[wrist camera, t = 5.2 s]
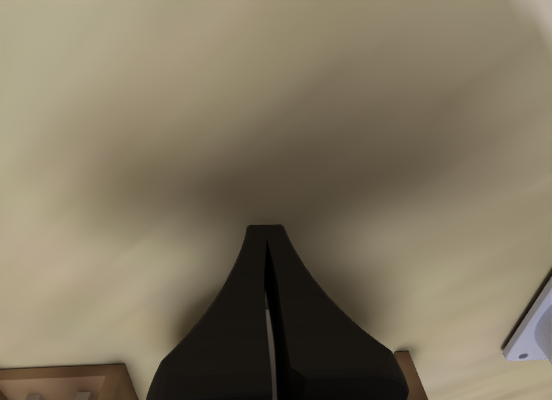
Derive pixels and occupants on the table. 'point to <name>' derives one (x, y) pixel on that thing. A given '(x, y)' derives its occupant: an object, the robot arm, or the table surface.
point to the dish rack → (118, 382)
